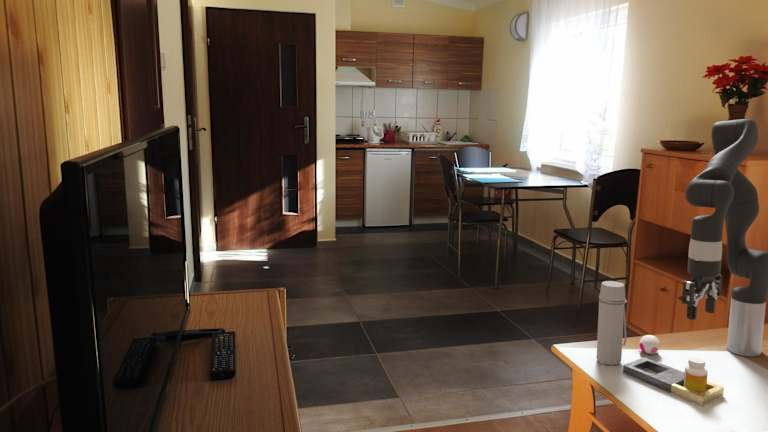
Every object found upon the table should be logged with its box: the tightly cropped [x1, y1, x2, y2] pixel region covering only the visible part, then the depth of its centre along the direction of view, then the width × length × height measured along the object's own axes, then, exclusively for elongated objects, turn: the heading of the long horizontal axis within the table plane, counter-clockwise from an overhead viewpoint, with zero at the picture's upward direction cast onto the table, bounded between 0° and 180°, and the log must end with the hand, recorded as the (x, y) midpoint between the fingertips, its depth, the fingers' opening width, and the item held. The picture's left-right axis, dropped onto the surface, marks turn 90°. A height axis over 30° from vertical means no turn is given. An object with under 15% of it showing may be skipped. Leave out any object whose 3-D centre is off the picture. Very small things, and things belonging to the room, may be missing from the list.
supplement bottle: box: [684, 356, 708, 394], centre depth 152 cm, size 5×5×10 cm
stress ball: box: [638, 334, 661, 355], centre depth 179 cm, size 8×8×7 cm
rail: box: [622, 357, 725, 407], centre depth 158 cm, size 10×24×2 cm, turn 31°
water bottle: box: [596, 280, 628, 366], centre depth 172 cm, size 9×8×25 cm
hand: (700, 315), depth 149 cm, fingers open, 8 cm apart
